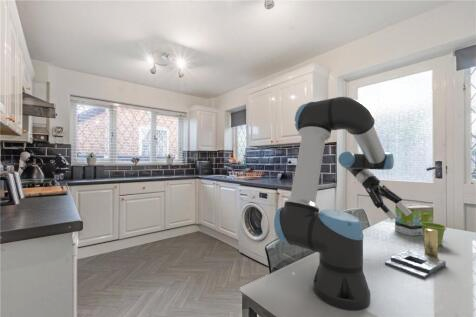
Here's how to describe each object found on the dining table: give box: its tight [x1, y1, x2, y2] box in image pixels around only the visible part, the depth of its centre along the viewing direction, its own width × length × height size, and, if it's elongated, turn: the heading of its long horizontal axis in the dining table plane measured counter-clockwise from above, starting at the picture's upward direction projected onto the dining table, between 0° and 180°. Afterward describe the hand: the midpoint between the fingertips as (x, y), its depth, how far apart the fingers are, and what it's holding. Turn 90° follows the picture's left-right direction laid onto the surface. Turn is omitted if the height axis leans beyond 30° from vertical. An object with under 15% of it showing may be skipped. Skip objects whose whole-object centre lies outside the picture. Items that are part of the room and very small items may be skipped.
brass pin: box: [424, 228, 439, 259], centre depth 90 cm, size 4×4×11 cm
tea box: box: [394, 203, 435, 237], centre depth 122 cm, size 15×10×15 cm, turn 105°
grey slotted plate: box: [390, 249, 447, 273], centre depth 84 cm, size 14×12×2 cm
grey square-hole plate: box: [384, 258, 442, 280], centre depth 82 cm, size 14×12×1 cm
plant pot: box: [420, 222, 447, 246], centre depth 106 cm, size 9×9×9 cm
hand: (402, 216), depth 100 cm, fingers open, 13 cm apart
